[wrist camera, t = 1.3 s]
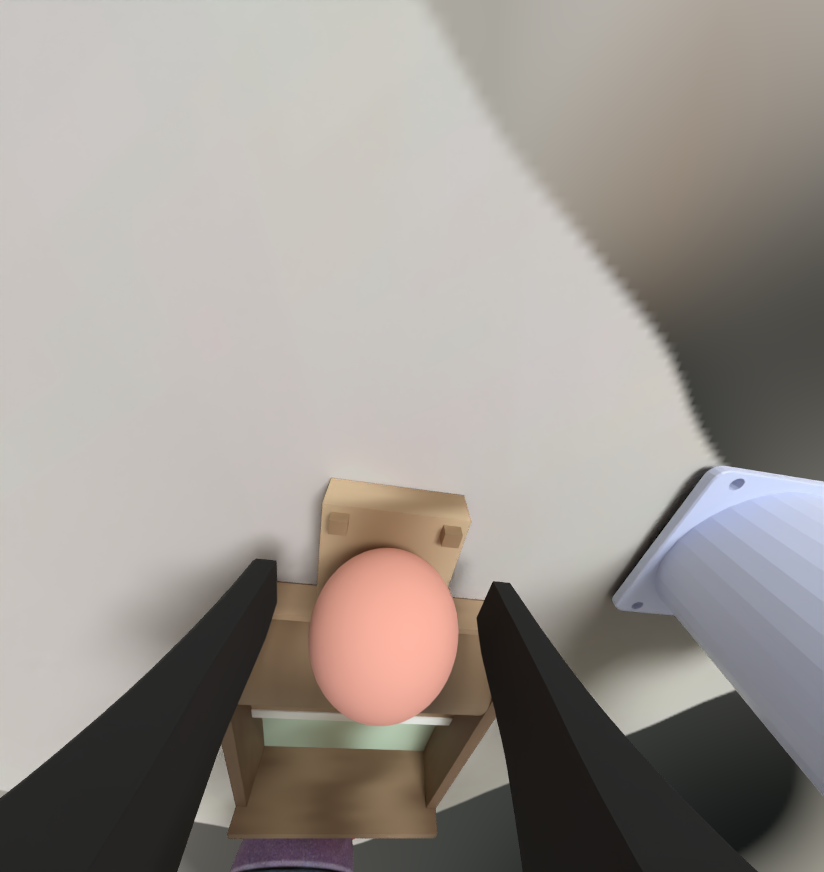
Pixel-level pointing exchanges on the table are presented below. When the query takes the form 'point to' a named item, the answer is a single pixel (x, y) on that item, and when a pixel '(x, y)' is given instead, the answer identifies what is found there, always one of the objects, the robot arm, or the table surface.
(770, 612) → the robot arm
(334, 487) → the wooden footed board
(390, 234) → the table surface
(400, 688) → the ball
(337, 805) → the wooden tray
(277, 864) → the stacking bear
